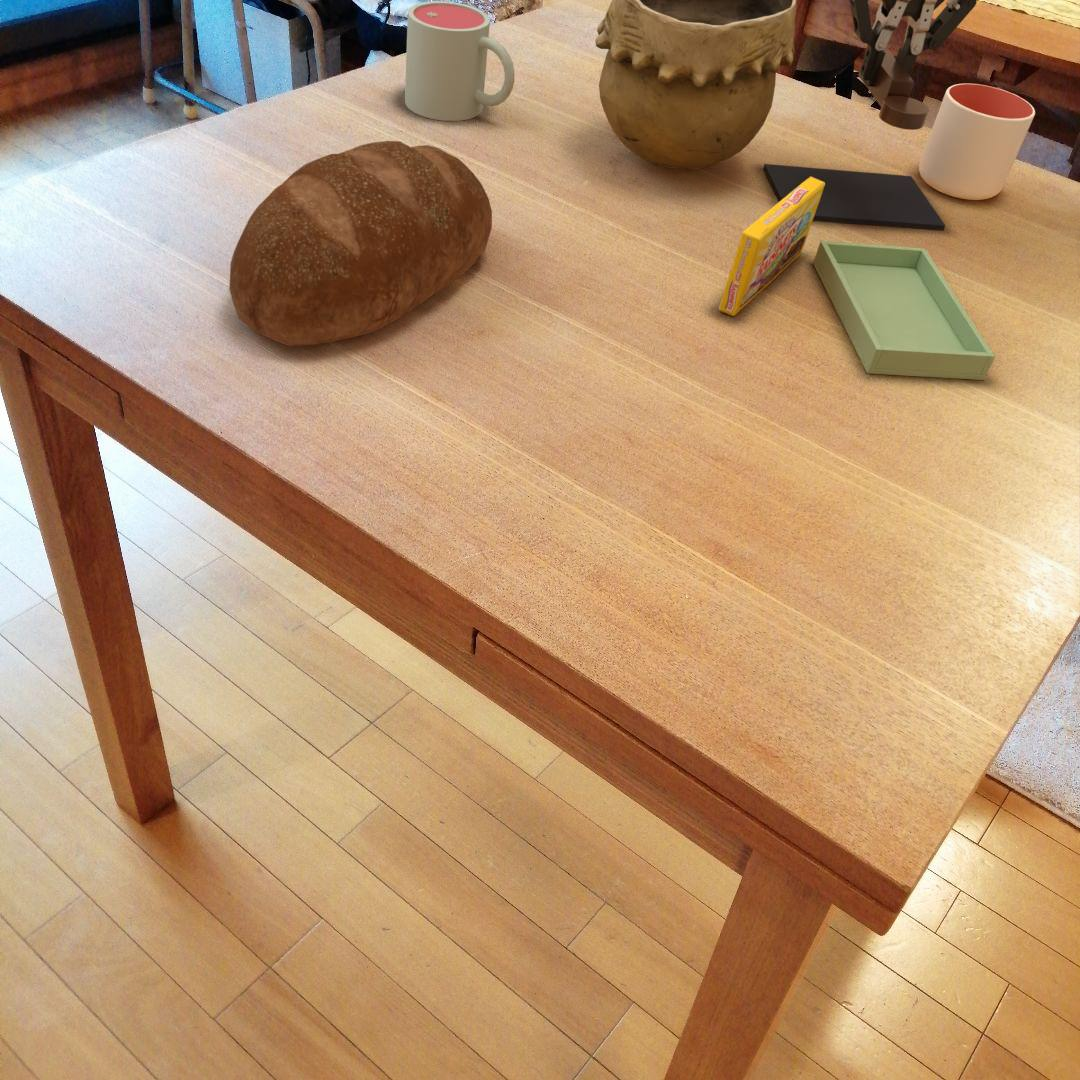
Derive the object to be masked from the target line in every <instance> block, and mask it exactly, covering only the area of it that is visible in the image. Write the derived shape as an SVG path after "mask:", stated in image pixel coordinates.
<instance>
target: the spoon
mask: <svg viewBox="0 0 1080 1080" xmlns="http://www.w3.org/2000/svg"><path fill="white" fill-rule="evenodd" d="M866 50H867V48H866V49H865V51H864V52H865V53H866ZM884 51H885V52H886V53H885V56H884V59H883V62H882V65H881V67H880V70H879V73H878V76H877V79H876V82H875V85H874V86H873V87H869V86H866V85H865V83H864V82H863V78H862V77H861V75H860V69H861V67H860V68H859V71H858V77H859V79H860V80H861V82H862V83H863V84H864V85H865V87H866V88H867V89H868V91H869V92H870V94H871V95H872V96H873V99H875V100H876V102H877V104H878V105H879V106H880V110H879V113H878V117H879V119H880V120H881V121H882V122H883V123H885V124H888V126H891V127H894V128H898V129H902V130H908V131H909V130H910V131H915V130H920V129H922V128H923V127H924V125H925V122H926V120H927V118H928V117H927V116H928V115H929V112H930V108H929V106H927V104H925V103H923V102H922V101H920V100H918V99H915V98H914V97H913V98H912V97H910V96H911V94H912V90H913V87H914V84H915V81H914V79H913V78H912V77H911V75H910V76H909V75H908V74H907V73H906V71H905V70H904V69H903V68H902V67H901V65H900V64H899V63H898V62H897V60H896V58H895V57H894V55H893V54H892V52H891V51H889V49H887V48H885V49H884ZM865 53H864V55H863V58H862V60H863V59H864V56H865Z"/></svg>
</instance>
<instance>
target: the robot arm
mask: <svg viewBox="0 0 1080 1080" xmlns="http://www.w3.org/2000/svg"><path fill="white" fill-rule="evenodd" d="M945 1H946V2H945ZM977 1H978V0H881V1H880V4H879V6H878V9H877V11H876V14H875V20H874V23H873V25H872V22H871V14H870V7H869V2H870V0H849V5H850V12H851V17H852V25H853V31H854V34H855V35H856V36H857V37H858V39H859V40H860V41H861V43H863V44H867V45H866V46H867V47H866V49H867V50H866V49H865V52H866V53H864V55H865V56H864V55H863V58H864V59H863V58H862V62H861V65H860V68H861V69H860V68H859V71H860V75H861V77H862V78H863V81H862V83H863V82H864V83H865V84H864V83H863V84H864V85H865V87H866V86H869V87H873V86H874V85H875V82H876V79H877V76H878V73H879V70H880V67H881V65H882V62H883V59H884V56H885V53H886V52H885V51H884V49H887V46H888V44H889V41H890V39H891V37H892V35H893V32H894V31H896V29H897V28H898V27H899V24H900V22H901V20H902V18H903V17H906V23H907V24H906V30H905V34H904V39H903V46H899V47H898V48H899V49H898V51H897V55H896V58H895V59H896V60H897V62H898V63H899V64H900V65H901V67H902V68H903V69H904V70H905V71H906V73H907V74H908V75H909V76H910V77H911V76H912V72H913V70H914V66H915V64H916V61H917V58H918V56H919V54H920V53H922V52H923V51H928V50H930V51H937V50H938V49H940V47H941V46H942V45H943V44H944V43H945V42H946V40H947V39H948V38H949V37H950V36H951V34H953V32H954V31H955V30H956V29H957V27H958V26H959V25H960V24H961V23H962V22H963V20H964V19H965V18H966V17H967V16H968V15H969V14H970V12H971V11H972V10H973V9H974V8H975V7H976V5H977ZM944 2H945V3H946V5H945V7H944V8H943V9H942V11H940V13H939V14H937V16H936V18H935V19H933V14H934V12H935V10H936V9H938V8H939V7H940V6H941V5H942V4H943V3H944ZM932 19H933V21H932Z"/></svg>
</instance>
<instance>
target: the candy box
mask: <svg viewBox="0 0 1080 1080" xmlns="http://www.w3.org/2000/svg"><path fill="white" fill-rule="evenodd" d="M824 186H825V182H823V181H820V180H818V179H815V178H813V177H810V178H808V179H807V180H806V181H804V182H803V183H802V184H800V185H799V186H798V187H797V188H796V189H794V190H793V191H792V192H791V193H789V194H788V195H787V196H786V197H785V198H783V199H782V200H781V201H780V202H779V201H778V202H777V203H776V204H775V205H774V206H773V207H771V208H770V209H768V211H766V212H765V213H764V214H763V215H761V216H760V217H758V219H757V220H755V221H754V222H753V223H752V224H750V225H749V226H748V227H747V228H746V229H744V230H743V231H742V234H741V237H740V240H739V243H738V246H737V249H736V252H735V255H734V258H733V262H732V264H731V267H730V272H729V274H728V277H727V281H726V284H725V287H724V290H723V293H722V297H721V300H720V303H719V306H718V311H719V312H721V313H723V314H727V315H729V316H732V317H735V316H736V315H737V314H738V313H739V312H740V311H741V310H742V309H743V308H744V307H746V306H747V305H748V304H749V303H750V302H751V301H752V300H753V299H755V297H757V295H759V294H760V293H761V292H763V290H764V289H766V287H767V286H769V285H770V283H772V282H773V281H774V280H775V279H776V278H777V277H778V276H779V275H780V274H781V273H782V272H783V271H784V270H785V269H787V268H788V267H789V266H790V265H791V264H792V263H793V262H794V261H795V260H796V259H797V258H798V257H799V256H801V255H802V251H803V249H804V246H805V243H806V240H807V238H808V235H809V232H810V229H811V227H812V223H813V221H814V220H813V218H814V215H815V212H816V209H817V206H818V204H819V201H820V198H821V195H822V192H823V189H824Z"/></svg>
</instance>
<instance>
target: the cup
mask: <svg viewBox="0 0 1080 1080" xmlns="http://www.w3.org/2000/svg"><path fill="white" fill-rule="evenodd" d="M945 90H946V91H945V93H944V96H943V98H942V102H941V104H940V107H939V109H938V113H937V115H936V117H935V120H934V123H933V126H932V128H931V131H930V133H929V136H928V139H927V141H926V144H925V147H924V149H923V152H922V155H921V157H920V161H919V163H918V171H919V174H920V176H921V179H922V180H923V181H924V182H925V184H926V185H928V186H929V187H931V188H933V189H934V190H935V191H937V192H939V193H942V194H944V195H946V196H950V197H953V198H957V199H960V200H968V201H982V200H987V199H990V198H991V199H992V198H994V197H995V196H997V195H999V193H1000V192H1001V191H1002V190H1003V188H1004V186H1005V184H1006V182H1007V179H1008V177H1009V175H1010V173H1011V170H1012V168H1013V166H1014V163H1015V162H1016V160H1017V157H1018V155H1019V152H1020V150H1021V148H1022V145H1023V143H1024V140H1025V138H1026V136H1027V135H1028V132H1029V129H1030V127H1031V124H1032V122H1033V120H1034V117H1035V115H1036V110H1035V108H1034V106H1033V105H1032V104H1031V103H1030V102H1029V101H1027V100H1026V99H1024V98H1022V97H1021V96H1019V95H1017V94H1015V93H1012V92H1009V91H1007V90H1004V89H1001V88H998V87H994V86H991V85H990V86H989V85H985V84H979V83H958V84H953V85H951V86H949V87H948V88H947V89H945Z"/></svg>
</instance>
